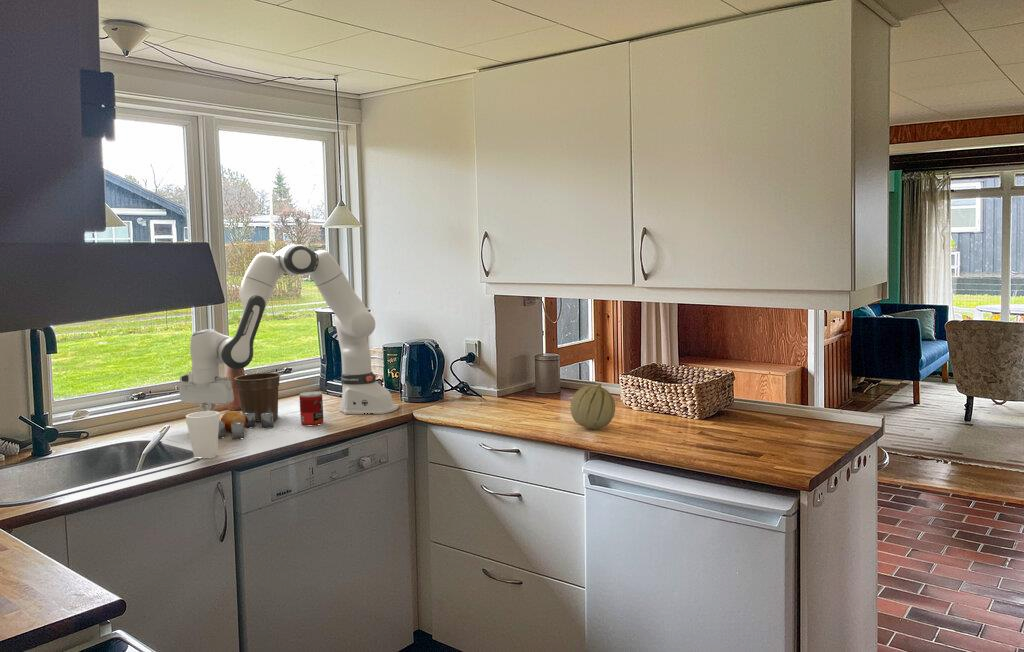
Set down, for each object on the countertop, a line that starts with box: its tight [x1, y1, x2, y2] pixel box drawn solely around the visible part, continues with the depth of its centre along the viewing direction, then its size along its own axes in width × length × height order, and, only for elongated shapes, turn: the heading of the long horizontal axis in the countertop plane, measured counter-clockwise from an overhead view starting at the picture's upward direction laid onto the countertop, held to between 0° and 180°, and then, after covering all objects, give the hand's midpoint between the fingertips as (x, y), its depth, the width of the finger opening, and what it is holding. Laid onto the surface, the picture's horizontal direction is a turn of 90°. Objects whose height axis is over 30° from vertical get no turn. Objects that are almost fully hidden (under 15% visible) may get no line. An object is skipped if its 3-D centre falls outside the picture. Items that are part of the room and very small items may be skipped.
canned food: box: [299, 391, 324, 426], centre depth 277 cm, size 8×8×11 cm
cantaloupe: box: [569, 382, 616, 430], centre depth 257 cm, size 15×15×15 cm
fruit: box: [220, 410, 246, 434], centre depth 269 cm, size 8×8×8 cm
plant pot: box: [233, 372, 282, 423], centre depth 287 cm, size 16×16×16 cm
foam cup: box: [185, 410, 221, 459], centre depth 236 cm, size 10×9×13 cm
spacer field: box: [218, 410, 275, 440], centre depth 268 cm, size 17×20×5 cm
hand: (207, 415), depth 272 cm, fingers closed
